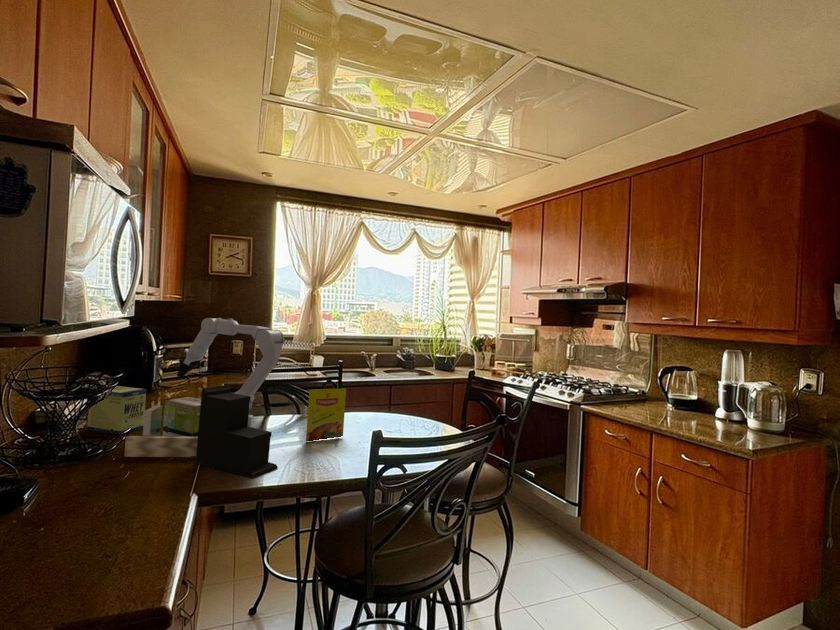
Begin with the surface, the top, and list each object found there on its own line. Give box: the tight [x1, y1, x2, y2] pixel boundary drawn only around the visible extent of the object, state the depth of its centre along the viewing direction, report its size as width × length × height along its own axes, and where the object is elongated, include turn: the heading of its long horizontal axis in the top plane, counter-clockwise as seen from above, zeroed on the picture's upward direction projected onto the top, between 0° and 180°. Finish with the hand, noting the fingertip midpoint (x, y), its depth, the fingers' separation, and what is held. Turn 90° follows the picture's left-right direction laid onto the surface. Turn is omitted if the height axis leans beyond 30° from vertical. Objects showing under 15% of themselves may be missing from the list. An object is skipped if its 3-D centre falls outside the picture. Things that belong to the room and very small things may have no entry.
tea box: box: [162, 396, 201, 437], centre depth 156 cm, size 15×10×15 cm
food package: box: [305, 388, 347, 442], centre depth 169 cm, size 15×1×20 cm, turn 126°
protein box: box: [86, 385, 147, 435], centre depth 165 cm, size 10×16×16 cm
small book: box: [142, 405, 163, 436], centre depth 144 cm, size 2×9×14 cm, turn 11°
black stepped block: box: [195, 384, 278, 479], centre depth 134 cm, size 23×11×24 cm, turn 66°
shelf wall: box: [124, 435, 198, 458], centre depth 140 cm, size 26×2×6 cm, turn 101°
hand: (183, 373), depth 170 cm, fingers open, 7 cm apart
